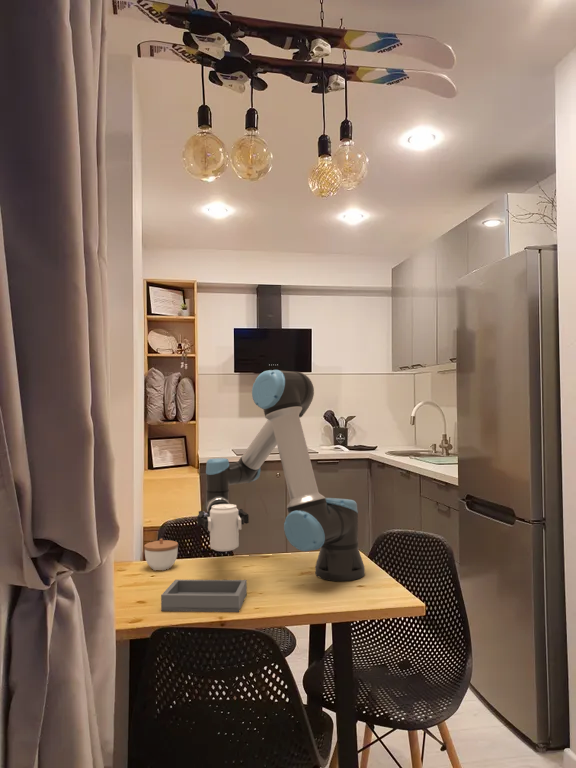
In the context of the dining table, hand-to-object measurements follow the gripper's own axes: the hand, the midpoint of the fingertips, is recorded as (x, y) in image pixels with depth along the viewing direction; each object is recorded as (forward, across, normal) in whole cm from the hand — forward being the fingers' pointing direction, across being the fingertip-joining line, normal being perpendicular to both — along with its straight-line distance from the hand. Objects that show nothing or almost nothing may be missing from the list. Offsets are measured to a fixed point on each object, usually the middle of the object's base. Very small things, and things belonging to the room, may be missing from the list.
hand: (225, 525), depth 152 cm
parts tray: (+5, +6, -19) cm, 20 cm away
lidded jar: (-32, +18, -19) cm, 42 cm away
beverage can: (-5, 0, -8) cm, 9 cm away
